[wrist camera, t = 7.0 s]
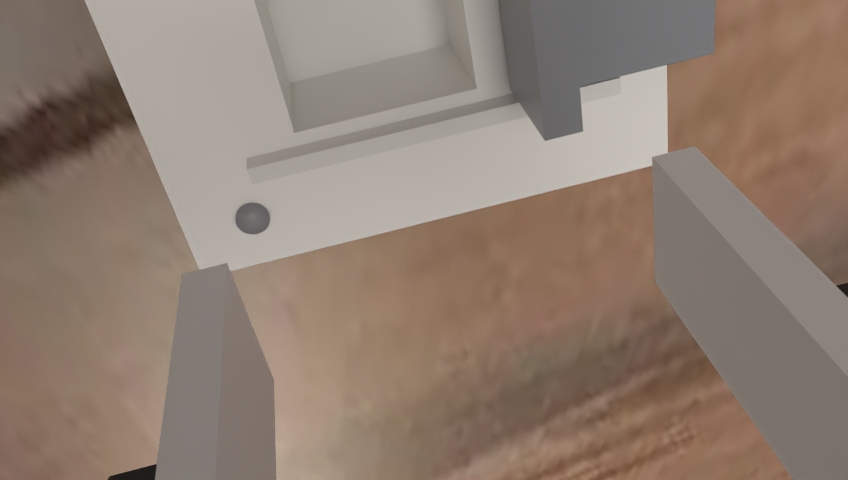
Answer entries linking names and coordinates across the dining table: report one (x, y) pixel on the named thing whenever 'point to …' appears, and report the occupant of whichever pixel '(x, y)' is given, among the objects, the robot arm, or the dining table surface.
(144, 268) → the dining table surface
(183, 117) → the socket
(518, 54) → the shutter
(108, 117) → the dining table surface
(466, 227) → the dining table surface
